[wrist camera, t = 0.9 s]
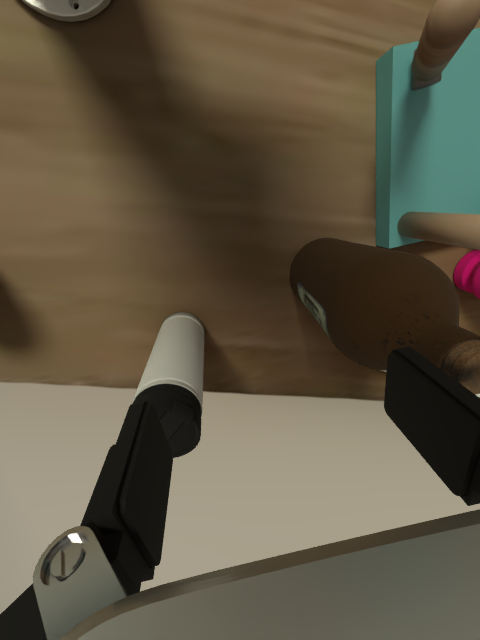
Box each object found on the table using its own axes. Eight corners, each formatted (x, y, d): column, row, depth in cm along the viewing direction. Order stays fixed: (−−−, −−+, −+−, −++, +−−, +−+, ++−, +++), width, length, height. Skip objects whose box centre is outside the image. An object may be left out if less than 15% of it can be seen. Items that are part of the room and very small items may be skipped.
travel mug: (214, 324, 40) (219, 427, 22) (189, 357, 42) (174, 477, 24) (177, 301, 38) (148, 393, 20) (152, 336, 40) (105, 451, 22)
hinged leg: (408, 56, 28) (430, -14, 17) (445, 43, 26) (495, -43, 15) (407, 93, 29) (426, 49, 18) (442, 82, 28) (486, 28, 17)
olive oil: (330, 215, 36) (547, 238, 13) (371, 272, 39) (595, 369, 17) (269, 271, 38) (362, 377, 15) (314, 320, 42) (442, 466, 19)
